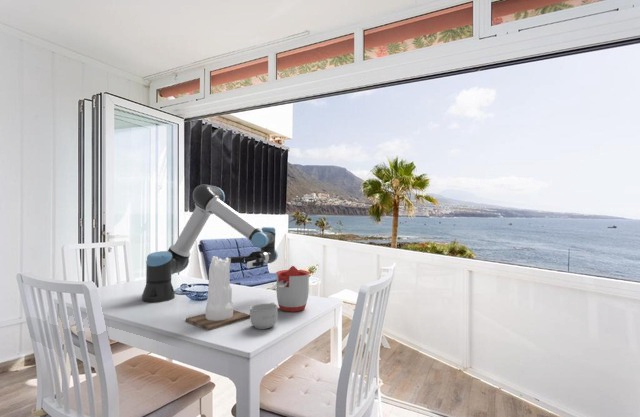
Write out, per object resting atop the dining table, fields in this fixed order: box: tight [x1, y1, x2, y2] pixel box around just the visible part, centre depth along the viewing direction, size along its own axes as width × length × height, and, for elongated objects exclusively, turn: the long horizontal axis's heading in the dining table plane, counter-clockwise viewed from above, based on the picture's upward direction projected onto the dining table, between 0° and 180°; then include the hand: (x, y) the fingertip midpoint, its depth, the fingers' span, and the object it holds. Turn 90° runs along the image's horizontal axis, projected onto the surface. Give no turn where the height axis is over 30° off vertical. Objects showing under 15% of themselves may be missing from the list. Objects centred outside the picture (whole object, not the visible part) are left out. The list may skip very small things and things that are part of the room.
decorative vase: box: [205, 255, 234, 321], centre depth 137 cm, size 11×11×25 cm
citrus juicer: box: [275, 265, 310, 313], centre depth 154 cm, size 16×17×20 cm
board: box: [185, 309, 250, 331], centre depth 137 cm, size 16×20×1 cm
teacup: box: [249, 302, 279, 330], centre depth 131 cm, size 14×11×8 cm
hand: (234, 263), depth 149 cm, fingers open, 13 cm apart
